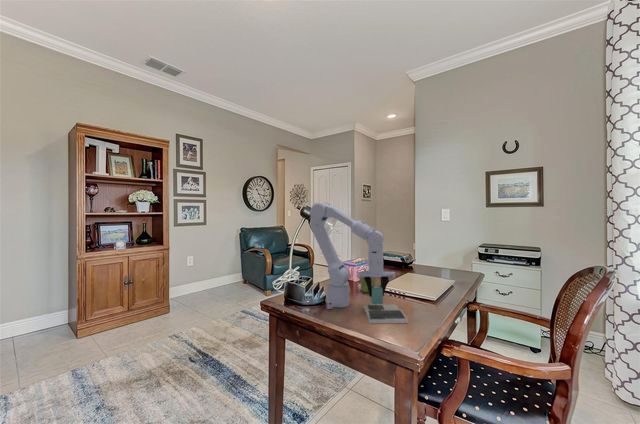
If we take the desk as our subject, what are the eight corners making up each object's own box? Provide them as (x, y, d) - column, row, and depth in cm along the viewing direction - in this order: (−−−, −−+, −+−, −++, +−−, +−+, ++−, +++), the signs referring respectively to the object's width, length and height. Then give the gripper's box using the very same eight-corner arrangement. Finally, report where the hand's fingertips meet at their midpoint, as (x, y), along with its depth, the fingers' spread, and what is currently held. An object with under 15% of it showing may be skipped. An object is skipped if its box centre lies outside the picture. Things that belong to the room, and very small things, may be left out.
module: (372, 304, 101) (372, 288, 101) (370, 300, 105) (370, 284, 105) (382, 304, 101) (382, 288, 101) (380, 299, 105) (380, 284, 105)
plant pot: (353, 290, 128) (353, 272, 128) (367, 286, 133) (367, 269, 133) (367, 295, 120) (367, 276, 120) (381, 291, 125) (381, 273, 125)
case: (369, 325, 91) (369, 319, 91) (366, 314, 99) (365, 309, 99) (408, 325, 91) (408, 319, 91) (401, 314, 99) (401, 309, 99)
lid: (366, 315, 99) (366, 312, 99) (363, 306, 108) (363, 304, 108) (401, 314, 99) (401, 312, 99) (395, 306, 107) (395, 303, 107)
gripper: (358, 264, 99) (359, 299, 100) (397, 263, 99) (397, 299, 99) (356, 260, 106) (357, 293, 107) (392, 259, 106) (392, 292, 106)
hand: (376, 295), depth 103 cm, fingers closed on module, 4 cm apart
